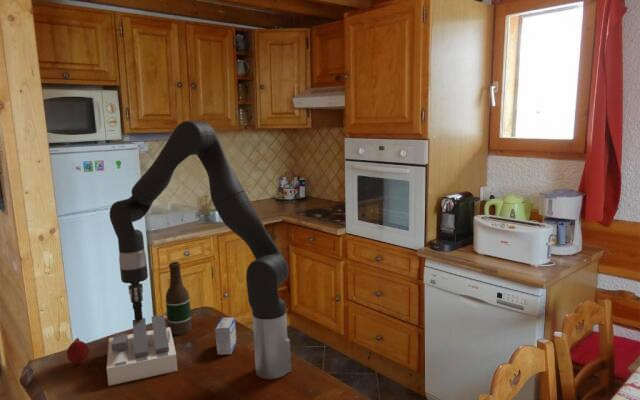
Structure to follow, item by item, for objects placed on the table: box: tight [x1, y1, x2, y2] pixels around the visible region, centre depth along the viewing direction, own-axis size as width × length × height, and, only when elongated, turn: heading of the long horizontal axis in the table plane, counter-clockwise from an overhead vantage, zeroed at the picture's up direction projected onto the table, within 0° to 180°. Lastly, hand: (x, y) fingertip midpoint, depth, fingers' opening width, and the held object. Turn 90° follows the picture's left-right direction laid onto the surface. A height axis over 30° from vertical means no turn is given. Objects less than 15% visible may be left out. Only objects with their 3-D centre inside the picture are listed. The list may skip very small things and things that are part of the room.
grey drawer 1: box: [151, 314, 169, 354], centre depth 139 cm, size 4×16×2 cm, turn 22°
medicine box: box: [214, 317, 237, 356], centre depth 144 cm, size 8×4×9 cm, turn 179°
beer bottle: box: [165, 261, 193, 336], centre depth 157 cm, size 8×8×24 cm
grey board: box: [112, 332, 128, 350], centre depth 135 cm, size 4×16×2 cm, turn 22°
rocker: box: [132, 317, 149, 358], centre depth 137 cm, size 4×16×2 cm, turn 22°
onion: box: [66, 337, 90, 365], centre depth 138 cm, size 6×6×8 cm
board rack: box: [106, 326, 179, 387], centre depth 138 cm, size 18×20×8 cm
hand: (138, 319), depth 143 cm, fingers closed
